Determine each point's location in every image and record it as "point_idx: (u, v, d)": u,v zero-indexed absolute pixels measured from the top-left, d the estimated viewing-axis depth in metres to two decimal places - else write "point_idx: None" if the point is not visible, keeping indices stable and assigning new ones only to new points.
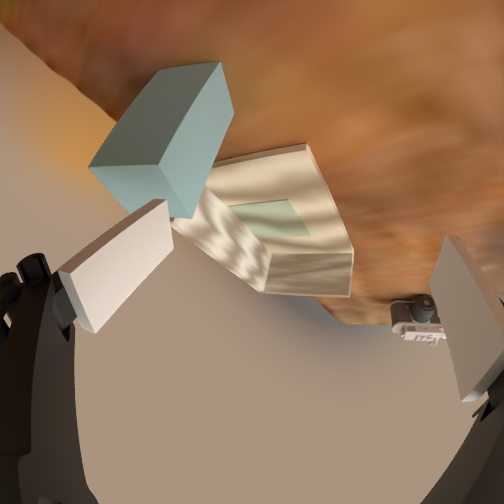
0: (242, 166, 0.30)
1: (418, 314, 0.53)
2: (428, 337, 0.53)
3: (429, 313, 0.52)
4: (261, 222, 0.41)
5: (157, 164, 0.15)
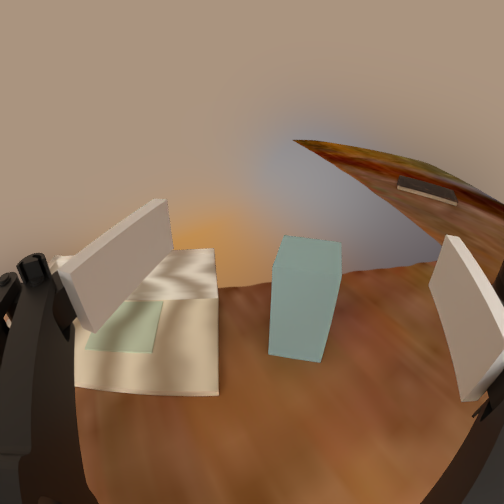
0: (211, 335, 0.32)
1: None
2: None
3: None
4: (127, 316, 0.34)
5: (341, 275, 0.23)
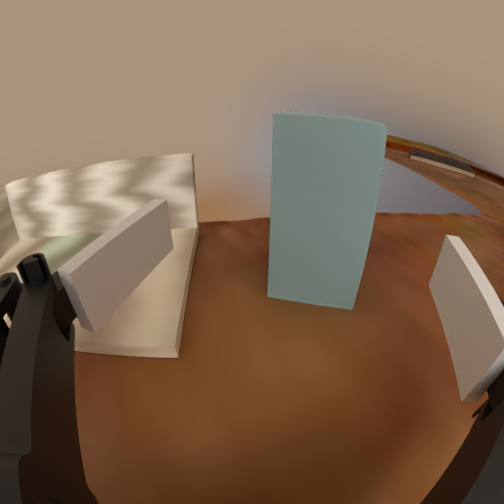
0: (178, 268, 0.21)
1: None
2: None
3: None
4: (72, 249, 0.23)
5: None
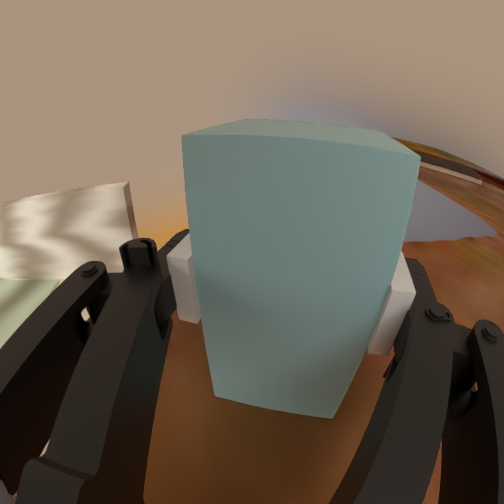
0: None
1: None
2: None
3: None
4: (7, 300, 0.16)
5: (420, 156, 0.05)
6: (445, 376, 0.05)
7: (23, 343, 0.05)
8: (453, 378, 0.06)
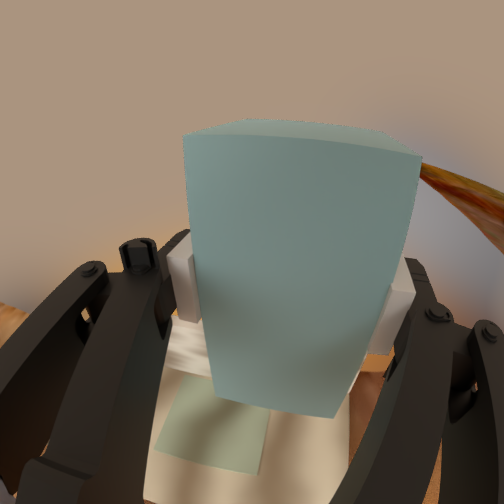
0: (340, 454, 0.18)
1: None
2: None
3: None
4: (220, 408, 0.23)
5: (421, 156, 0.05)
6: (445, 376, 0.05)
7: (23, 343, 0.05)
8: (453, 378, 0.06)
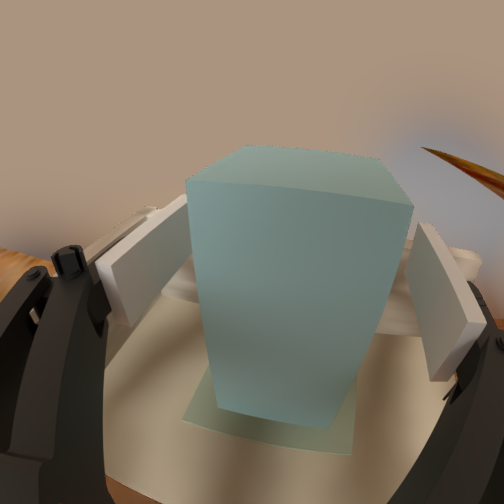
0: None
1: None
2: None
3: None
4: None
5: (413, 205, 0.06)
6: None
7: None
8: None
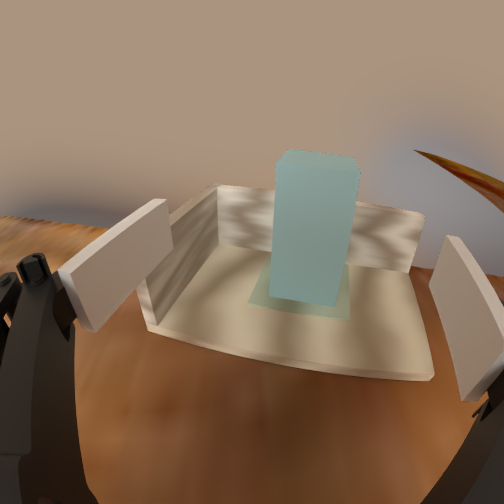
0: (413, 310, 0.24)
1: None
2: None
3: None
4: None
5: None
6: None
7: None
8: None
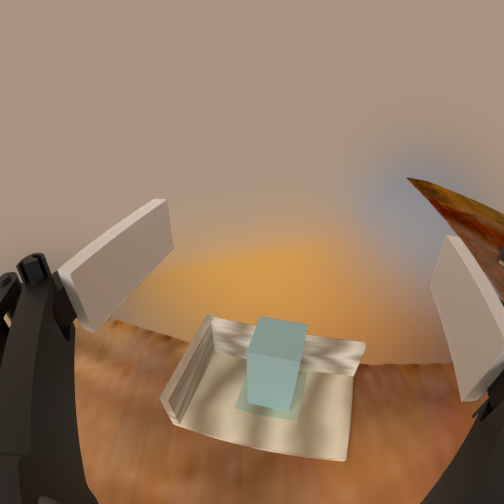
0: (346, 412, 0.34)
1: None
2: None
3: None
4: None
5: (300, 361, 0.28)
6: None
7: None
8: None
